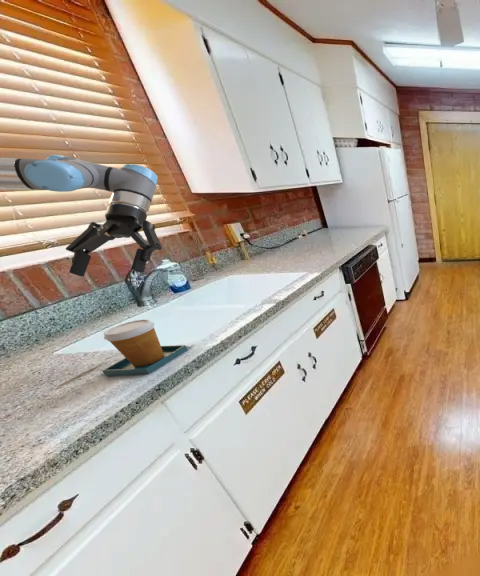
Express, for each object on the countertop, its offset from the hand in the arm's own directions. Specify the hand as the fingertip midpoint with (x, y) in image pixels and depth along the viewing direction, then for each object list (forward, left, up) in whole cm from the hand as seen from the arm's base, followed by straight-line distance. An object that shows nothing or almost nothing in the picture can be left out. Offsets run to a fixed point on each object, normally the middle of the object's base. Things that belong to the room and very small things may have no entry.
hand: (107, 272), depth 83 cm
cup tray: (+4, -5, -28) cm, 28 cm away
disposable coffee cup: (+4, -5, -27) cm, 28 cm away
